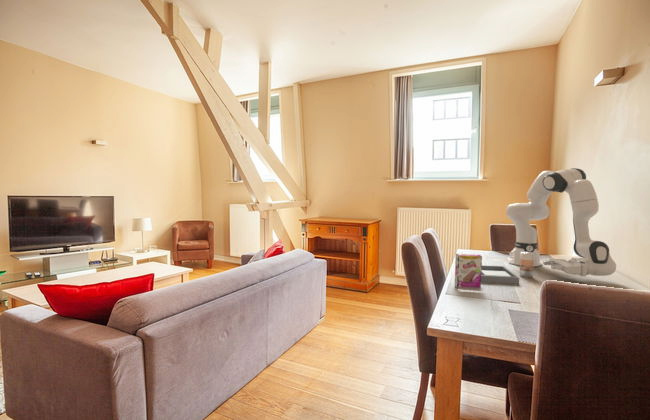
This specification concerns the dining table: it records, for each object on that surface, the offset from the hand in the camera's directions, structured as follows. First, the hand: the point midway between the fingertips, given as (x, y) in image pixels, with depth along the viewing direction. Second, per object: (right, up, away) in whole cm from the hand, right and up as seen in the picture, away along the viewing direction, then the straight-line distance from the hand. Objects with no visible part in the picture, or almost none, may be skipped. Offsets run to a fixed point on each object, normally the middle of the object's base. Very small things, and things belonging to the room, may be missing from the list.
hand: (547, 265), depth 175 cm
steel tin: (-10, -8, +3) cm, 13 cm away
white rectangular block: (-29, -7, -3) cm, 30 cm away
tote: (-28, -8, +2) cm, 29 cm away
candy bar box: (-48, -9, -14) cm, 51 cm away
